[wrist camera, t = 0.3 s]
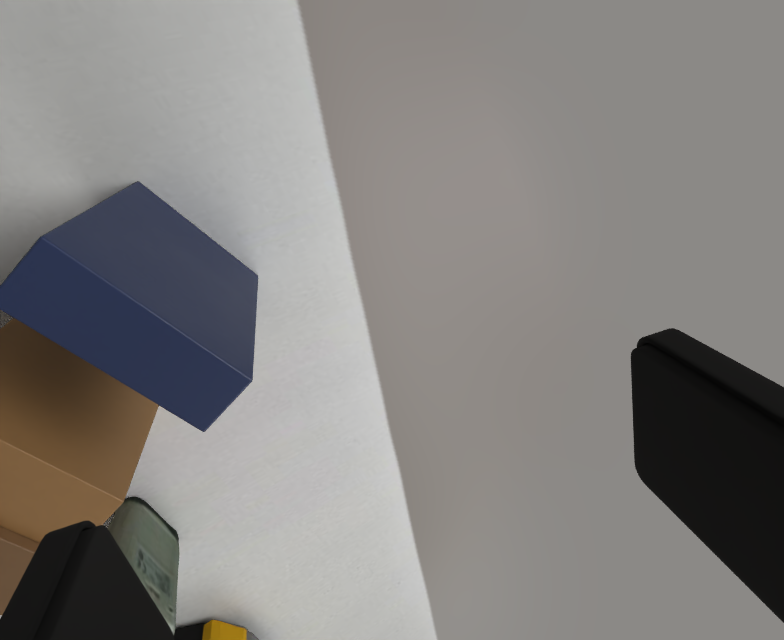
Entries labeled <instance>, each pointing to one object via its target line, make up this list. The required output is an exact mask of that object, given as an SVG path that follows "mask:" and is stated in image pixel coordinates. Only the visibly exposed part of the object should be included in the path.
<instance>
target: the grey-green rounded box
mask: <svg viewBox="0 0 784 640" xmlns="http://www.w3.org/2000/svg"><path fill="white" fill-rule="evenodd" d="M107 529H108V530H109V531H110V533H111V535H112V536H113V538H114V539H115V541H116V542H117V544H118V546H119V547H120V549H121V550H122V552H123V554H124V555H125V557H126V558H127V560H128V561H129V563H130V565H131V566H132V568H133V569H134V571H135V573H136V574H137V576H138V577H139V579H140V580H141V582H142V584H143V585H144V587H145V588H146V590H147V592H148V593H149V595H150V596H151V598H152V599H153V601H154V603H155V604H156V606H157V607H158V609H159V611H160V612H161V614H162V615H163V617H164V618H165V620H166V622H167V623H168V625H169V626H170V628H171V630H172V632H173V636H174V633H175V627H176V599H177V580H178V565H179V543H178V540H179V538H178V534H177V532H176V530H174V529H173V528H172V527H171V526H170V525H169V524H167V523H166V521H165V520H164V519H163V518H162V517H161V516H160V515H158V513H157V512H156V511H155V510H154V509H153V508H151V507H150V506H149V505H148V504H147V503H146V502H145V501H144V500H142V499H140V498H137V497H130V498H127V499H125V500H124V502H123V503H122V504H121V505H120V506H119V507H118V509H117V510H116V511H115V512H114V518H113V520H112V521H111V523H110V525H109V526H108V528H107Z"/></svg>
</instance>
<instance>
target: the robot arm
mask: <svg viewBox="0 0 784 640" xmlns="http://www.w3.org/2000/svg"><path fill="white" fill-rule="evenodd" d="M631 375H632V403H633V430H634V458H635V467H636V470H637V473H638V475H639V477H640V478H641V480H642V481H643V482H644V483H645V485H646V486H647V487H648V488H649V489H650V490H651V491H652V492H653V493H654V494H655V495H656V496H657V497H658V498H659V499H660V500H662V501H663V503H664V504H665V505H667V507H669V509H670V510H671V511H672V512H673V513H674V514H675V515H676V516H677V517H678V518H679V519H680V520H681V521H682V522H683V523H684V524H685V525H686V526H687V527H688V528H689V529H690V530H692V532H693V533H694V534H696V536H697V537H698V538H699V539H700V540H701V541H702V542H704V544H705V545H706V546H707V547H708V548H709V549H710V550H711V551H712V552H713V553H714V554H715V555H717V557H719V558H720V560H721V561H722V562H723V563H724V564H725V565H726V566H727V567H728V568H729V569H730V570H731V571H732V572H734V574H735V575H736V576H738V577H739V579H740V580H741V581H742V582H744V583H745V585H746V586H747V587H749V589H750V590H751V591H753V593H754V594H756V596H758V597H759V599H760V600H761V601H762V602H763V603H765V604H766V606H767V607H768V608H769V609H770V610H772V612H774V614H775V615H776V616H777V617H778V618H779V619H781V620H782V621H783V622H784V387H782V386H780V385H778V384H777V383H775V382H773V381H771V380H769V379H767V378H765V377H764V376H762V375H760V374H758V373H756V372H755V371H753V370H751V369H749V368H747V367H745V366H744V365H741V364H740V363H738V362H736V361H734V360H733V359H731V358H729V357H727V356H725V355H723V354H722V353H719V352H718V351H716V350H714V349H712V348H710V347H709V346H707V345H705V344H703V343H701V342H699V341H698V340H696V339H694V338H692V337H690V336H688V335H687V334H685V333H683V332H681V331H679V330H676V329H673V328H672V329H667V330H664V331H661V332H658V333H655V334H652V335H648V336H646V337H642V338H641V339H640V340H639V341H638V343H637V348H635V349H634V350H633V351H632V353H631ZM0 640H174V636H173V632H172V630H171V628H170V626H169V625H168V623H167V622H166V620H165V618H164V617H163V615H162V614H161V612H160V611H159V609H158V607H157V606H156V604H155V603H154V601H153V599H152V598H151V596H150V595H149V593H148V592H147V590H146V588H145V587H144V585H143V584H142V582H141V580H140V579H139V577H138V576H137V574H136V573H135V571H134V569H133V568H132V566H131V565H130V563H129V561H128V560H127V558H126V557H125V555H124V554H123V552H122V550H121V549H120V547H119V546H118V544H117V542H116V541H115V539H114V538H113V536H112V535H111V533H110V531H109V530H108V529H107V528H106V527H105V526H103V525H99V526H95V524H94V523H92V522H91V521H82V522H79V523H76V524H73V525H70V526H67V527H63V528H60V529H57V530H54V531H51V532H49V533H47V534H46V535H45V536H44V537H43V539H42V540H41V542H40V544H39V546H38V548H37V550H36V552H35V553H34V555H33V557H32V559H31V561H30V563H29V565H28V567H27V569H26V571H25V573H24V574H23V576H22V578H21V580H20V582H19V584H18V586H17V588H16V590H15V592H14V594H13V596H12V597H11V599H10V601H9V603H8V605H7V607H6V609H5V611H4V613H3V615H2V617H1V619H0Z"/></svg>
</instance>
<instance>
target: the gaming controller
mask: <svg viewBox="0 0 784 640" xmlns="http://www.w3.org/2000/svg"><path fill="white" fill-rule="evenodd" d="M174 640H258V638H257V637H256V636H255V635H254V634H253V633H251V632H249V631H248V630H247V629H246V628H245V627H241V626H237V625H232V624H227V623H225V622H222V621H217V620H211V621H209V622H208V623H206V624H200V625H195V626H190V627H184V628H179V629H175V633H174Z"/></svg>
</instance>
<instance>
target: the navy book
mask: <svg viewBox="0 0 784 640" xmlns="http://www.w3.org/2000/svg"><path fill="white" fill-rule="evenodd" d="M257 290H258V275H257V274H255V273H254V272H253V271H251V270H250V269H249V268H248V267H246V266H245V265H244V264H243V263H241V262H240V261H239V260H238V259H236V258H235V257H234V256H233V255H231V254H230V253H229V252H227V251H226V250H225V249H224V248H222V247H221V246H220V245H219V244H217V243H216V242H215V241H214V240H212V239H211V238H210V237H208V236H207V235H206V234H205V233H203V232H202V231H201V230H200V229H198V228H197V227H196V226H195V225H193V224H192V223H191V222H189V221H188V220H187V219H186V218H184V217H183V216H182V215H181V214H179V213H178V212H177V211H176V210H174V209H173V208H172V207H171V206H169V205H168V204H167V203H165V202H164V201H163V200H162V199H160V198H159V197H158V196H157V195H155V194H154V193H153V192H152V191H150V190H149V189H148V188H146V187H145V186H144V185H143V184H141V183H140V182H139V181H137V182H135V183H134V184H132V185H130V186H128V187H127V188H125V189H123V190H121V191H120V192H118V193H116V194H114V195H113V196H111V197H109V198H107V199H106V200H104V201H102V202H100V203H99V204H97V205H95V206H93V207H92V208H90V209H88V210H86V211H85V212H83V213H81V214H79V215H78V216H76V217H74V218H72V219H71V220H69V221H67V222H65V223H64V224H62V225H60V226H58V227H57V228H55V229H53V230H51V231H50V232H48V233H46V234H44V235H43V236H41V237H40V238H39V239H38V240H37V241H36V243H35V244H34V245H33V246H32V247H31V249H30V250H29V251H28V252H27V254H26V255H25V256H24V257H23V258H22V260H21V261H20V262H19V263H18V264H17V266H16V267H15V268H14V269H13V271H12V272H11V273H10V274H9V275H8V277H7V278H6V279H5V280H4V282H3V283H2V284H1V285H0V310H2V311H3V312H5V313H7V314H8V315H10V316H12V317H13V318H15V319H17V320H18V321H20V322H22V323H23V324H25V325H27V326H28V327H30V328H32V329H33V330H35V331H37V332H38V333H40V334H42V335H43V336H45V337H46V338H48V339H50V340H51V341H53V342H55V343H56V344H58V345H60V346H61V347H63V348H65V349H66V350H68V351H70V352H71V353H73V354H75V355H76V356H78V357H80V358H81V359H83V360H85V361H86V362H88V363H90V364H91V365H93V366H95V367H96V368H98V369H100V370H101V371H103V372H105V373H106V374H108V375H110V376H111V377H113V378H115V379H116V380H118V381H120V382H121V383H123V384H125V385H126V386H128V387H130V388H131V389H133V390H134V391H136V392H138V393H139V394H141V395H143V396H144V397H146V398H148V399H149V400H151V401H153V402H154V403H156V404H158V405H159V406H161V407H163V408H164V409H166V410H168V411H169V412H171V413H173V414H174V415H176V416H178V417H179V418H181V419H183V420H184V421H186V422H188V423H189V424H191V425H193V426H194V427H196V428H198V429H199V430H201V431H203V432H204V431H206V430H207V429H208V428H209V427H210V426H211V424H212V423H213V422H214V421H215V420H216V419H217V418H218V417H219V416H220V415H221V414H222V413H223V412H224V411H225V410H226V408H227V407H228V406H229V405H230V404H231V403H232V402H233V401H234V400H235V399H236V398H237V397H238V396H239V395H240V394H241V393H242V391H243V390H244V389H245V388H246V387H247V386H248V385H249V384H250V383H251V382H252V380H253V362H254V344H255V326H256V308H257Z"/></svg>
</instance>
